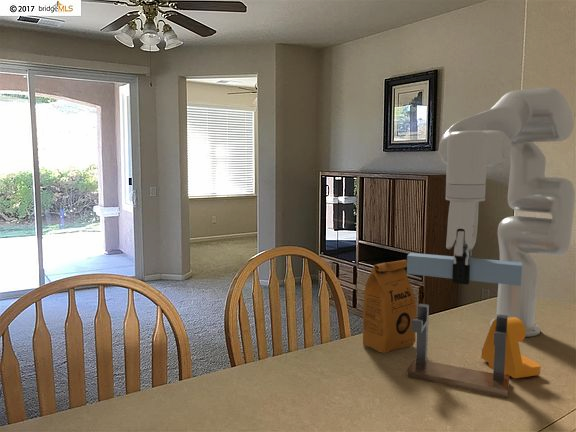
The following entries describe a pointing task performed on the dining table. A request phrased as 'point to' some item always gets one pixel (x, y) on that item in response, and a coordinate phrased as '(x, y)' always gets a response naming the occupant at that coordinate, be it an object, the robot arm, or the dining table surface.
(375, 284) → the coffee package
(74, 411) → the dining table surface
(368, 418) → the dining table surface
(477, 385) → the stand
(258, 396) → the dining table surface
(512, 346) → the bracket
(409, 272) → the rail
